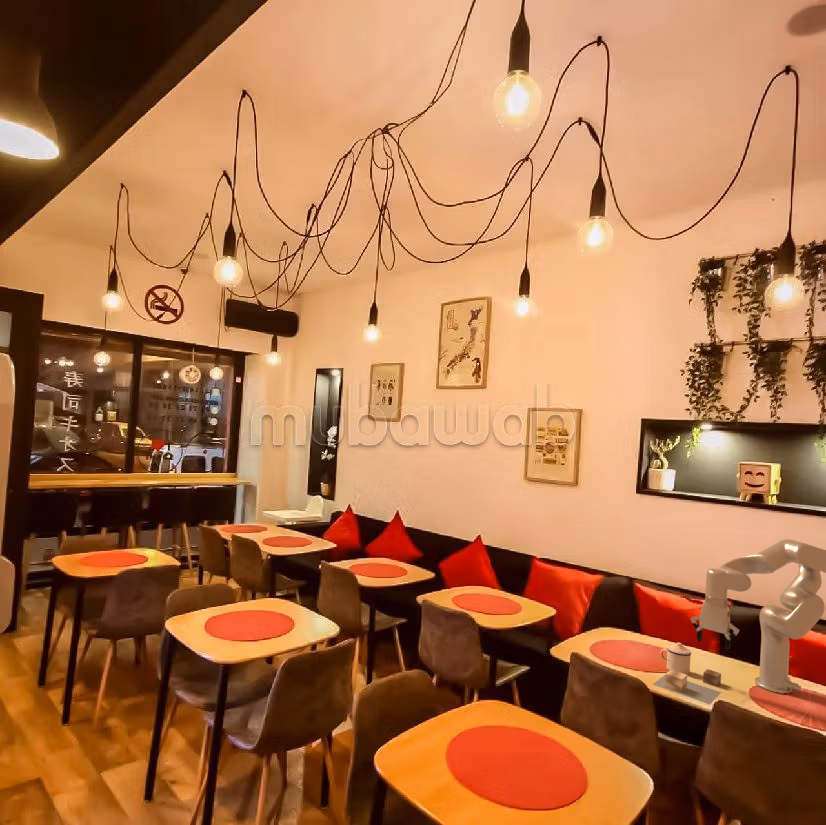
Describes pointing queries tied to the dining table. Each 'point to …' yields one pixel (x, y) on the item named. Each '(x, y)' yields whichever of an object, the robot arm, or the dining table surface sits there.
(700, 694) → the slate board
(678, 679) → the maple block
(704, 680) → the walnut block
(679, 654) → the teacup with lid
